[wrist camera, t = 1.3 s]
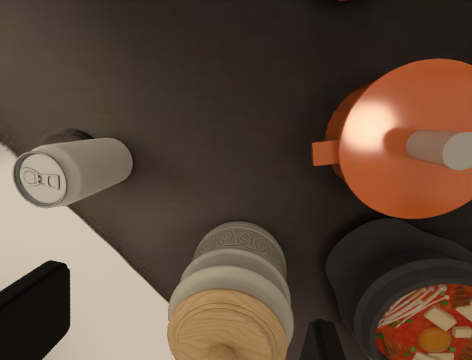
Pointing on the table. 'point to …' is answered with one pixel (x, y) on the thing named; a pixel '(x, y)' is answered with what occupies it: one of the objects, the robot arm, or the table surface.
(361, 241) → the casserole
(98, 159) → the can
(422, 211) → the pot lid
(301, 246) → the table surface
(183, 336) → the jar
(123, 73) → the table surface
